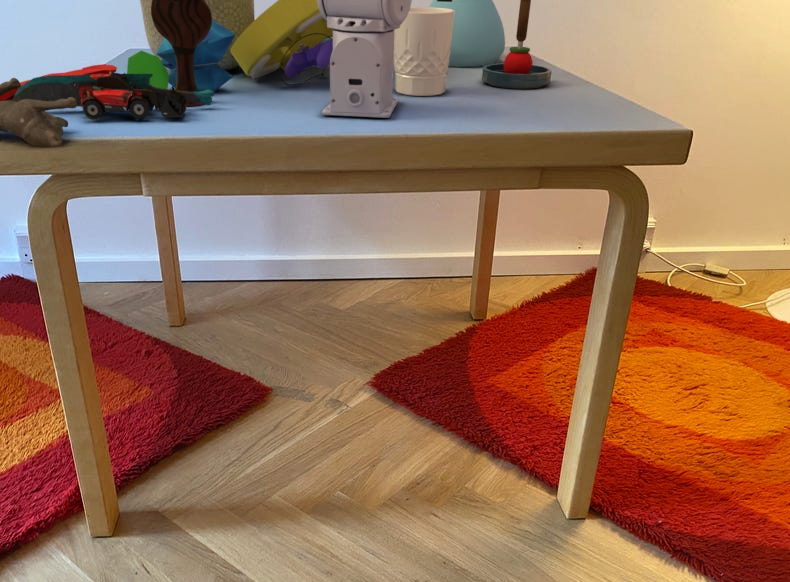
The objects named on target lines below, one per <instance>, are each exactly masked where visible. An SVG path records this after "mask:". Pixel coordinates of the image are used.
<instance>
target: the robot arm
mask: <svg viewBox="0 0 790 582" xmlns="http://www.w3.org/2000/svg"><path fill="white" fill-rule="evenodd" d="M412 1H413V0H317V5H318V8H319V10H320V13H321V15H322V17H323V18H324V19H325V20H326V21H327V28H333V51H332V54H331V58H330V64H329V91H330V92H329V98H330V99H329V103H328V104H327V105H326V106H325V107H324V108H323V109H322V110H321V114H322V115H323V116H334V117H335V116H336V117H338V116H339V117H359V118H379V119H381V118H382V119H387V118H390V117H391V115H392V113H394V110H395V108H396V106H397V105H398V103H399V99H398V98H397V97H393V82H394V81H393V79H394V29H398V28H400V25H401V24H402V23H403V22H404V20H405V19H406V17H407V15H408V13H409V10H410V7H412V3H413V2H412ZM437 2H452V0H437Z"/></svg>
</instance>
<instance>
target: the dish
mask: <svg viewBox="0 0 790 582" xmlns="http://www.w3.org/2000/svg"><path fill="white" fill-rule="evenodd" d="M552 73H553V70H552V69H551V68H550V67H547V66H544V65H539V64H532V68H531V70H530V72H529V73H528V74H511V73H505V70H504V62H503V63H502V62H501V63H494V64H490V65H486V66H482V73H481V81H483V82H485V83H486V84H487V85H489V86H491V87H495V88H503V89H512V90H524V89H525V90H530V89H539V88H543V87H544V86H546V85H548V84H550V83H551V79H552Z"/></svg>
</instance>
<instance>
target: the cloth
mask: <svg viewBox="0 0 790 582" xmlns="http://www.w3.org/2000/svg"><path fill="white" fill-rule="evenodd" d="M117 70H118V67H117V66H115V65H113V64H94V65H93V64H92V65H89V66H85V67H82V68H80V69H74V70H70V71H66V72H65V71H64V72H55V73H47V74H43V75H41V76H40V77H42V76H54V75H89V74H110V73H109V72H111V73H117ZM30 80H31V79H27V80H23V81H19V82H20V84H21V86H22V85H24V84H25V83H26V82H28V81H30ZM18 89H19V88H17V89H13V90H11V91H9V92H6V93H5V94H3V95H1V96H0V102H1V101H12V99H13V98H14V95H15V93H16V92H17V90H18Z"/></svg>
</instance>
